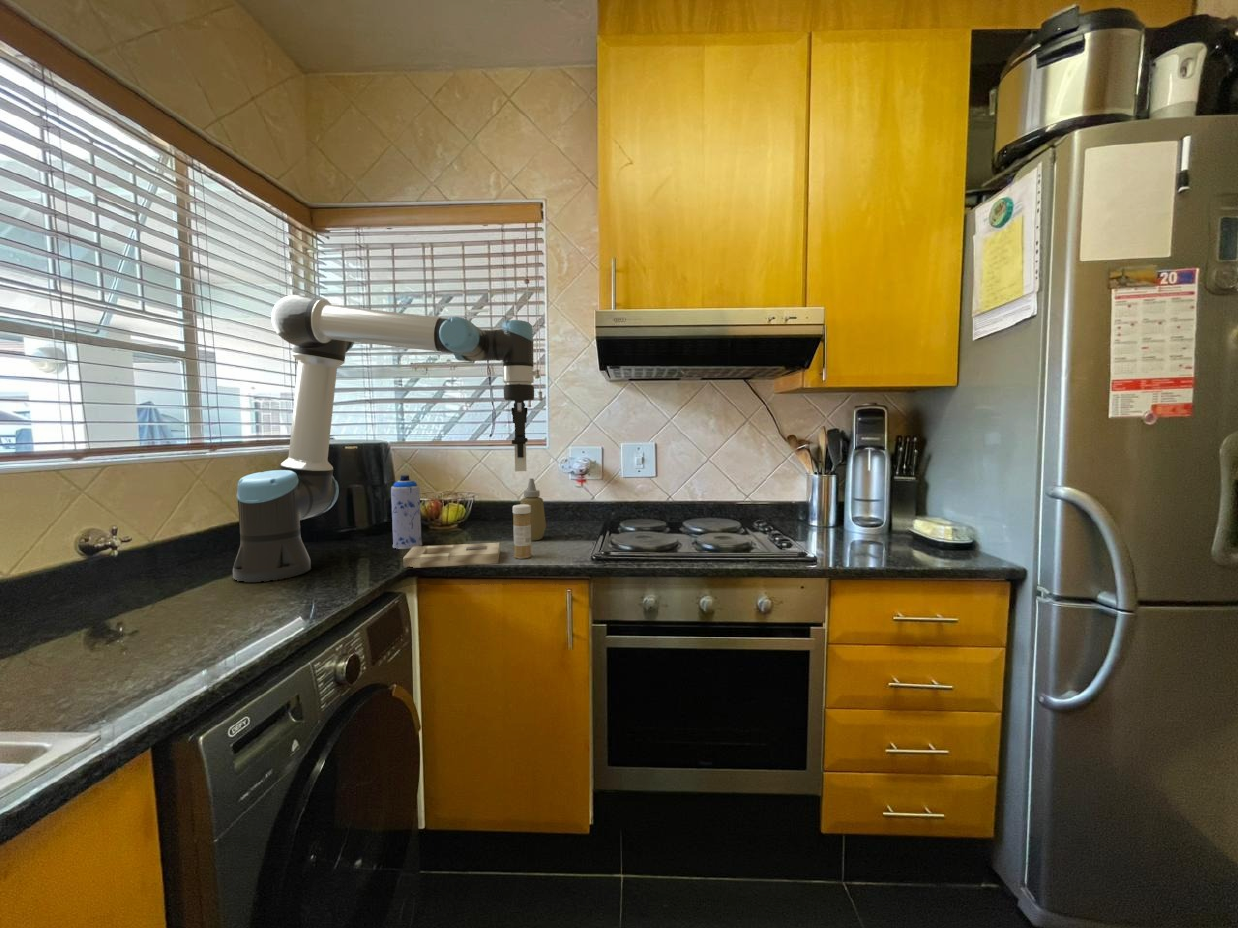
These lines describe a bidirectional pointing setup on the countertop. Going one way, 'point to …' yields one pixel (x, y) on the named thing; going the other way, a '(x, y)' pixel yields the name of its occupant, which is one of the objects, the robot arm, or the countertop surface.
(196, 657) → the countertop surface
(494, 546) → the holder block
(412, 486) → the aerosol can
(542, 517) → the squeeze bottle
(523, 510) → the sprinkles bottle
